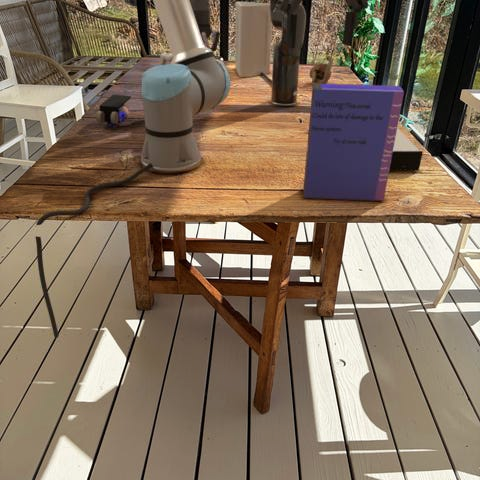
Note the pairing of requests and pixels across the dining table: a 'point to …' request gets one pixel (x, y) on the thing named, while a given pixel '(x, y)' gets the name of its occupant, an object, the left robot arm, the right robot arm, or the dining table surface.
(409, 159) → the disc drive
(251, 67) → the tall white block
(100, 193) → the dining table surface
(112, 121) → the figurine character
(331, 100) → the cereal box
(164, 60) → the toy
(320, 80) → the anatomical model
